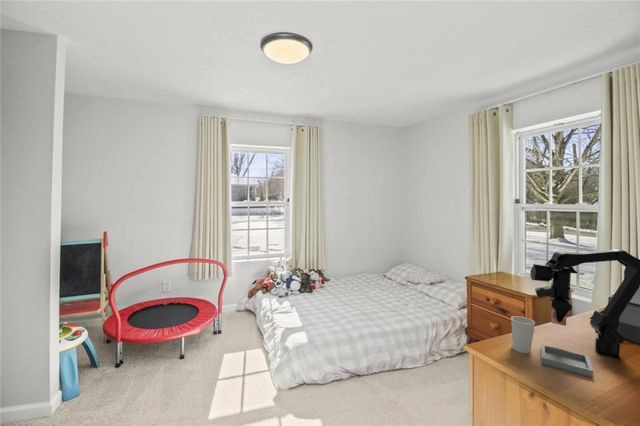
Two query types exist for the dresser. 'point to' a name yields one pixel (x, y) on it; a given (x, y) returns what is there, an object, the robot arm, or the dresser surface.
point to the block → (554, 318)
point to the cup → (522, 333)
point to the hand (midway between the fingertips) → (558, 320)
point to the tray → (566, 360)
